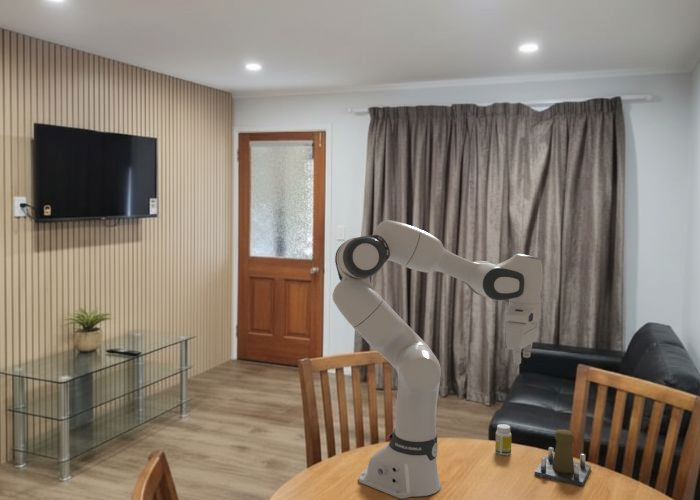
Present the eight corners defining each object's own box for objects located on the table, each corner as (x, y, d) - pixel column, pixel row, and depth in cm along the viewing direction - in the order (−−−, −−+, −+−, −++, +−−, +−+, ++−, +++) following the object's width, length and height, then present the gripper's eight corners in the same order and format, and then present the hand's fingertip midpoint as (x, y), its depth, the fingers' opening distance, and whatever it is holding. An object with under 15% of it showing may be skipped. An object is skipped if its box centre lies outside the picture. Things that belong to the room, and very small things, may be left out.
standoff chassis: (534, 475, 175) (534, 459, 175) (545, 459, 186) (545, 444, 186) (582, 486, 168) (583, 469, 168) (590, 469, 180) (591, 453, 179)
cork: (575, 473, 174) (577, 435, 173) (553, 471, 175) (554, 433, 174) (572, 464, 180) (573, 428, 179) (550, 463, 181) (552, 426, 180)
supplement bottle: (513, 451, 192) (513, 425, 191) (508, 456, 188) (509, 430, 188) (498, 448, 195) (498, 422, 194) (493, 453, 191) (493, 426, 190)
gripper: (523, 306, 183) (520, 351, 184) (502, 315, 166) (500, 365, 167) (545, 308, 180) (542, 355, 181) (526, 318, 163) (523, 369, 163)
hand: (521, 360), depth 174 cm, fingers open, 8 cm apart
